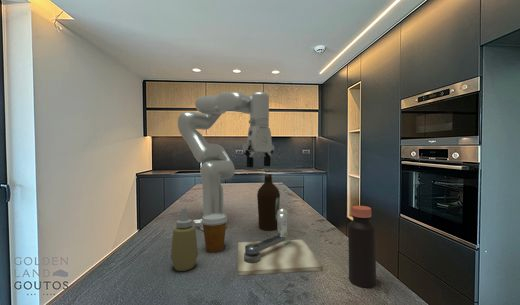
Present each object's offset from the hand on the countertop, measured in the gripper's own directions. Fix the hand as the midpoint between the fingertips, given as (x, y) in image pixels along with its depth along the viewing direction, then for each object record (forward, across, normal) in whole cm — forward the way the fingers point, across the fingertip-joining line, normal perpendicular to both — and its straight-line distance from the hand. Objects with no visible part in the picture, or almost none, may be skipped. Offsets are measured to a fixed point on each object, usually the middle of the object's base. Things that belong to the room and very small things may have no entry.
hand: (258, 166), depth 96 cm
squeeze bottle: (+30, -32, 0) cm, 44 cm away
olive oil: (+30, +14, +7) cm, 34 cm away
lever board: (+29, -7, -15) cm, 34 cm away
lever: (+26, -8, -13) cm, 30 cm away
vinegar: (+28, -2, -43) cm, 51 cm away
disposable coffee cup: (+30, -17, +5) cm, 35 cm away
